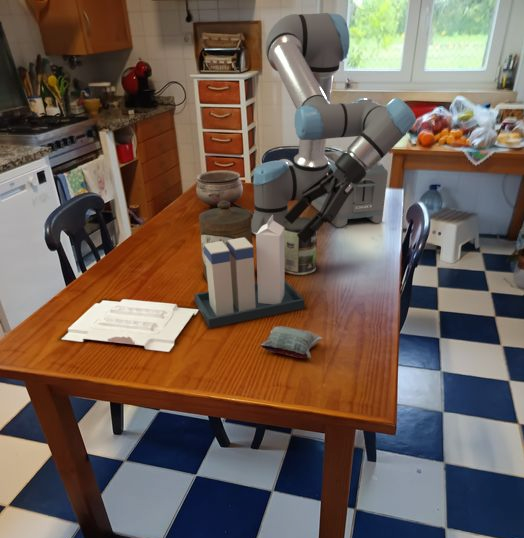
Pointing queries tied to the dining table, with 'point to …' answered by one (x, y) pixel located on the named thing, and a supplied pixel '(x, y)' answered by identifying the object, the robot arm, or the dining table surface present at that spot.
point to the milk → (270, 262)
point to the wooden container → (224, 226)
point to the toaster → (360, 195)
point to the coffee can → (299, 248)
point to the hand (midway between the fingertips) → (293, 229)
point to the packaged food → (291, 341)
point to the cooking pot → (219, 187)
